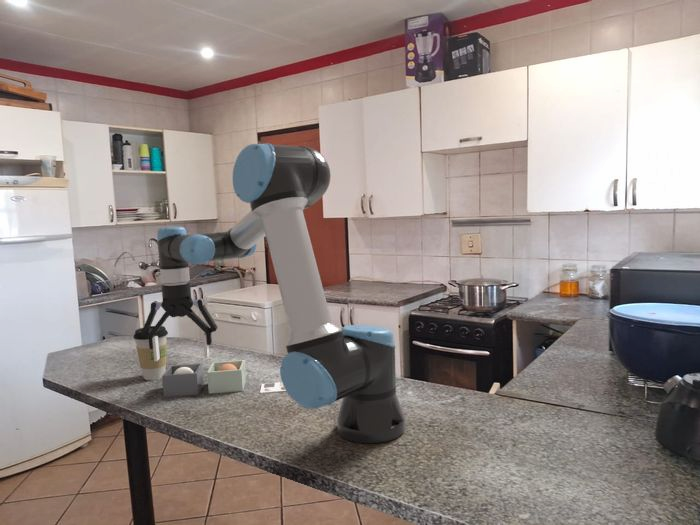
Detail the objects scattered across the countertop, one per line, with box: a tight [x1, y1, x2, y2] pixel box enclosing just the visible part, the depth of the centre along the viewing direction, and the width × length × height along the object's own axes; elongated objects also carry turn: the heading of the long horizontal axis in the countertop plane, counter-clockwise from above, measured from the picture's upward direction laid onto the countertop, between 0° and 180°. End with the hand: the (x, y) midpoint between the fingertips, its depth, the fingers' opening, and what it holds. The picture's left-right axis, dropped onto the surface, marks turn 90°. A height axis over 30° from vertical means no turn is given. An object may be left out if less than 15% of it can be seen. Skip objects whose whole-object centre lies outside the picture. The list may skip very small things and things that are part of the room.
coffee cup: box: [133, 325, 169, 381], centre depth 154 cm, size 10×10×15 cm
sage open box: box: [206, 359, 247, 395], centre depth 144 cm, size 9×9×6 cm
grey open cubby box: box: [161, 362, 205, 398], centre depth 142 cm, size 9×9×6 cm
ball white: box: [174, 367, 194, 374], centre depth 142 cm, size 6×6×6 cm
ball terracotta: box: [218, 364, 237, 371], centre depth 143 cm, size 6×6×6 cm
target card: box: [259, 381, 287, 394], centre depth 141 cm, size 7×9×1 cm
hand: (182, 358), depth 142 cm, fingers open, 13 cm apart
